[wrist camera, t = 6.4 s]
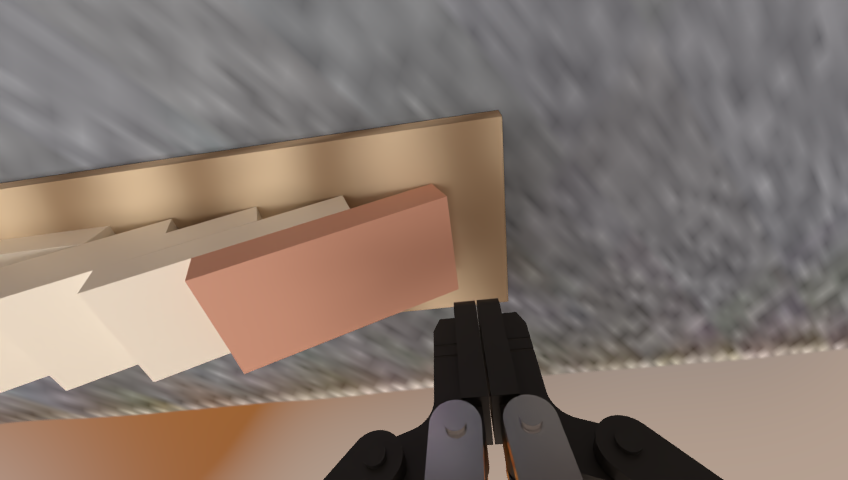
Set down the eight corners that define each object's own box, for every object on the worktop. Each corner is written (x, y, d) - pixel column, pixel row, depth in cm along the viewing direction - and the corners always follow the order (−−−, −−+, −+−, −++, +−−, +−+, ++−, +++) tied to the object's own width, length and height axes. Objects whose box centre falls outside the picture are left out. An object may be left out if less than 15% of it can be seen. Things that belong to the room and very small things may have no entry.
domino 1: (83, 244, 16) (-107, 267, 17) (144, 322, 19) (-23, 340, 20) (109, 225, 18) (-68, 248, 19) (163, 302, 21) (6, 319, 21)
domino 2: (165, 233, 16) (-129, 319, 14) (216, 315, 19) (-21, 400, 16) (171, 218, 17) (-96, 295, 15) (218, 297, 20) (-2, 373, 18)
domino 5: (446, 196, 15) (185, 281, 13) (458, 289, 18) (244, 373, 15) (431, 183, 16) (191, 258, 14) (444, 271, 19) (245, 347, 17)
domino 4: (350, 208, 15) (76, 293, 13) (375, 297, 18) (153, 382, 16) (342, 195, 17) (93, 270, 14) (367, 280, 19) (161, 355, 17)
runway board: (498, 109, 16) (502, 116, 15) (505, 289, 21) (508, 301, 20) (-72, 193, 18) (-96, 203, 17) (64, 334, 24) (50, 346, 23)
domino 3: (257, 220, 16) (-26, 306, 13) (295, 305, 19) (66, 390, 16) (256, 206, 17) (-3, 282, 15) (292, 288, 20) (79, 364, 17)
